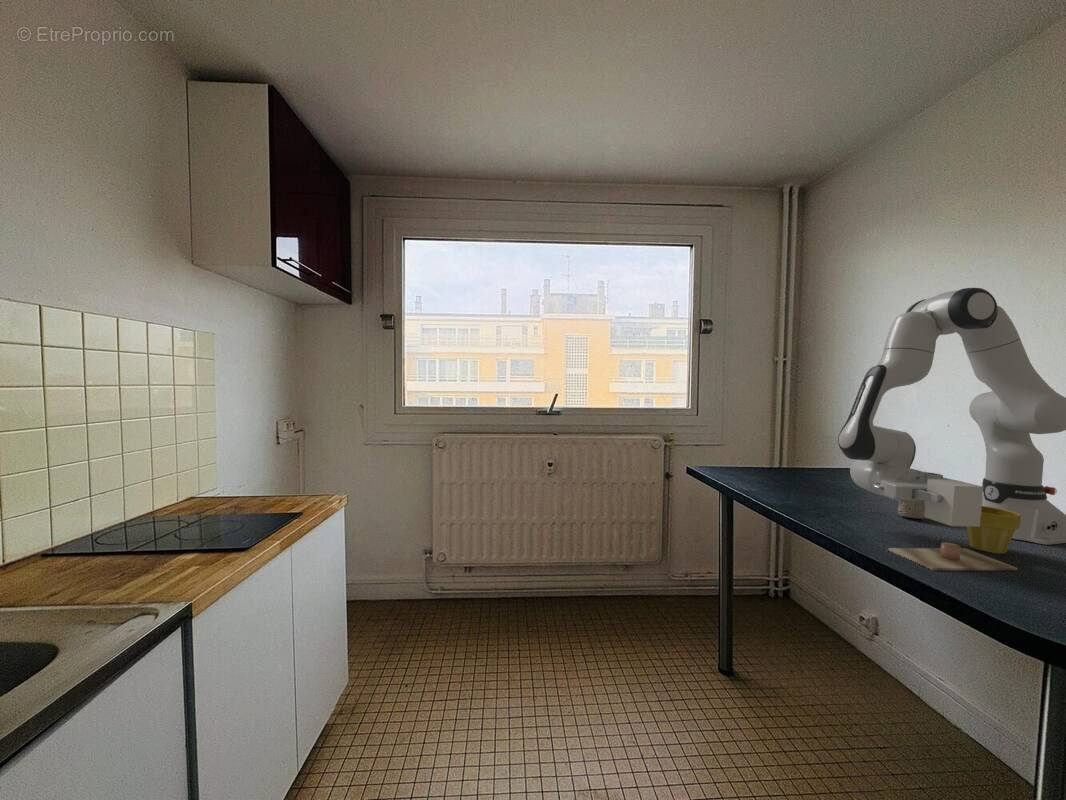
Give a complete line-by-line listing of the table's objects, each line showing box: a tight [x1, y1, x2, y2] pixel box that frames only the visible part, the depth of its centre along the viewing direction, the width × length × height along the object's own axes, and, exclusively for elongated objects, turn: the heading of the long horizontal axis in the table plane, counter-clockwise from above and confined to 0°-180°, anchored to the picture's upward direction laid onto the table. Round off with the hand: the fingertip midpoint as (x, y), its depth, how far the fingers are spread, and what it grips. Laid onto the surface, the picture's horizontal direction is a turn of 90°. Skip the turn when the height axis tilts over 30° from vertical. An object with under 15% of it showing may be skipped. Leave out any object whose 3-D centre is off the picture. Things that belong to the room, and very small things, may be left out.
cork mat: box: [887, 547, 1019, 571], centre depth 112 cm, size 20×12×1 cm, turn 94°
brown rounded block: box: [940, 541, 962, 560], centre depth 112 cm, size 3×3×3 cm
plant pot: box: [965, 506, 1021, 555], centre depth 120 cm, size 10×10×10 cm
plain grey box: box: [924, 479, 983, 527], centre depth 111 cm, size 7×7×9 cm
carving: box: [897, 501, 925, 520], centre depth 146 cm, size 6×8×12 cm
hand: (957, 499), depth 110 cm, fingers closed on plain grey box, 7 cm apart
